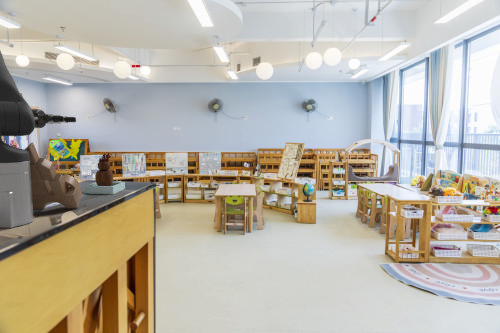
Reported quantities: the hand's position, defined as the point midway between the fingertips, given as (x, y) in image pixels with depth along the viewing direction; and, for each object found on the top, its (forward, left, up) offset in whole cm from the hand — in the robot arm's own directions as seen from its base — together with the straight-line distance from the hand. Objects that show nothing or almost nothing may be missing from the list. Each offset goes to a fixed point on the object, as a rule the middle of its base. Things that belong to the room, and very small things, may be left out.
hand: (69, 119), depth 127 cm
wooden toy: (-26, -9, -28) cm, 39 cm away
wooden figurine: (+3, -12, -29) cm, 31 cm away
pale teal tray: (+3, -12, -30) cm, 32 cm away
